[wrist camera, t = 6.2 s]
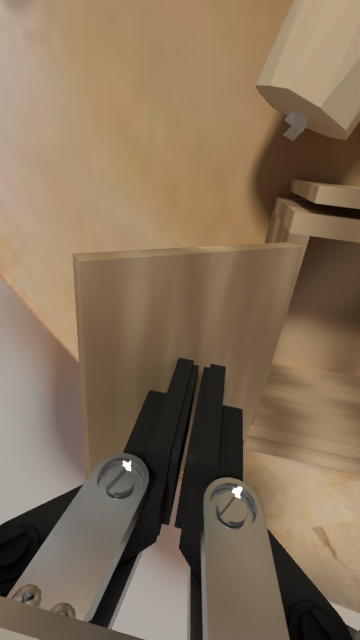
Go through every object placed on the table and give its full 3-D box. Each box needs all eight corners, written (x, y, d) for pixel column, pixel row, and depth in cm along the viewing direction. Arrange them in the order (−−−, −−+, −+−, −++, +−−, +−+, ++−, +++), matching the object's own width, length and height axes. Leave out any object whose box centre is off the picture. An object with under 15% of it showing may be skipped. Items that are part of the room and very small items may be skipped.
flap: (302, 246, 11) (79, 261, 7) (246, 438, 16) (92, 513, 12) (289, 242, 12) (72, 253, 8) (238, 430, 16) (87, 499, 12)
